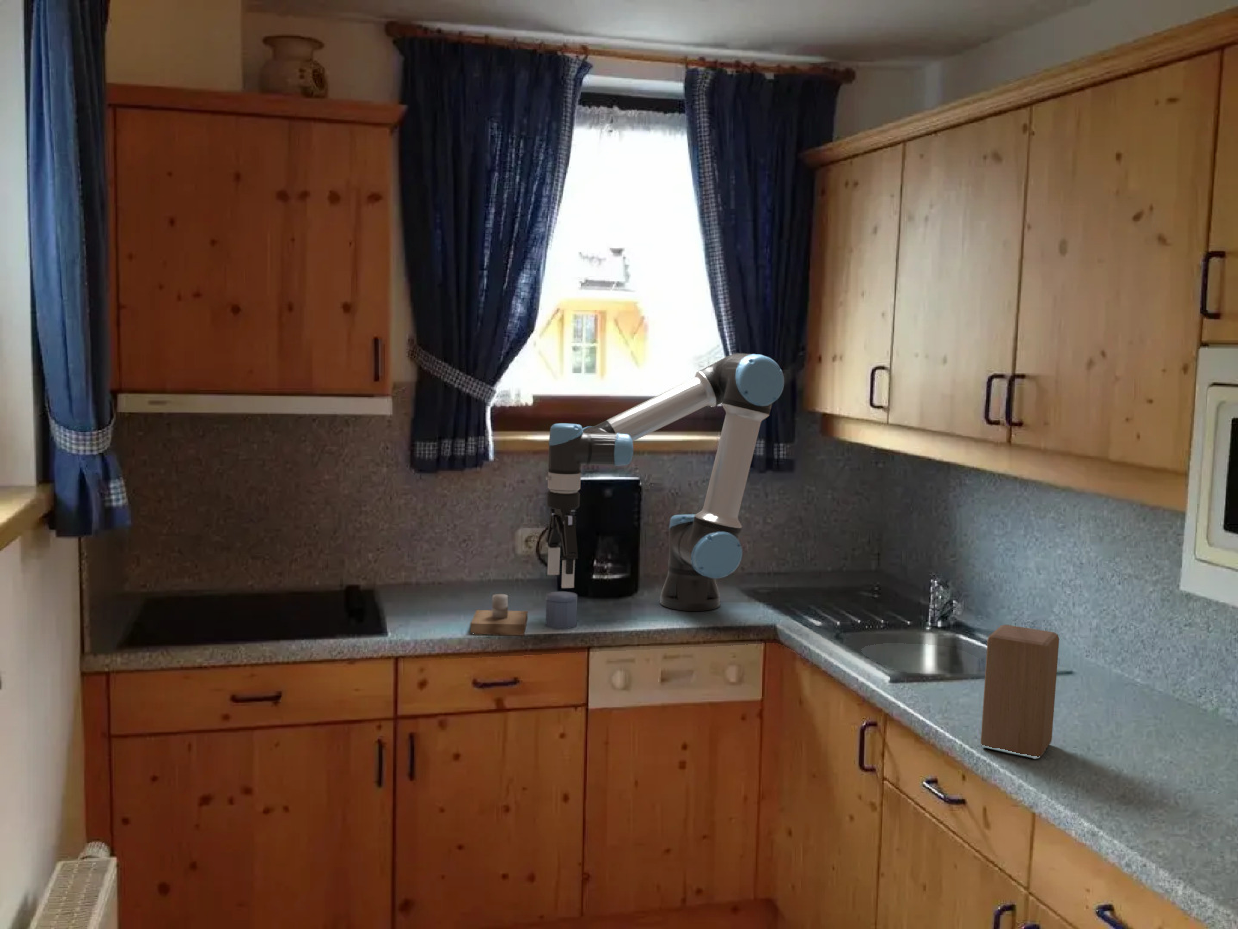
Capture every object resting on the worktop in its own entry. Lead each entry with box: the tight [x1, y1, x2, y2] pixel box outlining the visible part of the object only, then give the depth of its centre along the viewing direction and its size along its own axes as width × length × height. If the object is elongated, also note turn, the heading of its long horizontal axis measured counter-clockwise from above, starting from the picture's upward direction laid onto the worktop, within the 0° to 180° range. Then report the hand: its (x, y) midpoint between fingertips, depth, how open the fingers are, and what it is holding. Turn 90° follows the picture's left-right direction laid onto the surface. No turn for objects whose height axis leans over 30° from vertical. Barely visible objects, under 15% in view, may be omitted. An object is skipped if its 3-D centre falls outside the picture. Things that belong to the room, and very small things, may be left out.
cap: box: [545, 591, 578, 629], centre depth 267 cm, size 7×7×7 cm
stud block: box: [470, 593, 529, 636], centre depth 263 cm, size 12×12×8 cm
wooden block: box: [980, 624, 1060, 757], centre depth 195 cm, size 10×10×20 cm
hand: (560, 581), depth 266 cm, fingers open, 13 cm apart
